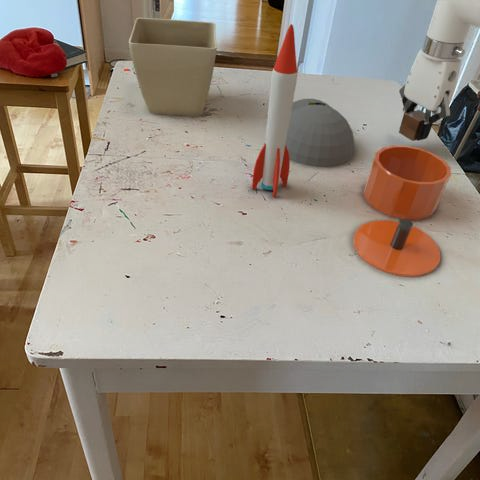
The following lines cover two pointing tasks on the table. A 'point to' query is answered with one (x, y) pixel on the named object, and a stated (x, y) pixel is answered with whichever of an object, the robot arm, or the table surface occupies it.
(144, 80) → the flower pot
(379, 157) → the pot
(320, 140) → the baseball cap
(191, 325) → the table surface
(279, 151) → the toy rocket
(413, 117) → the block
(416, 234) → the lid
